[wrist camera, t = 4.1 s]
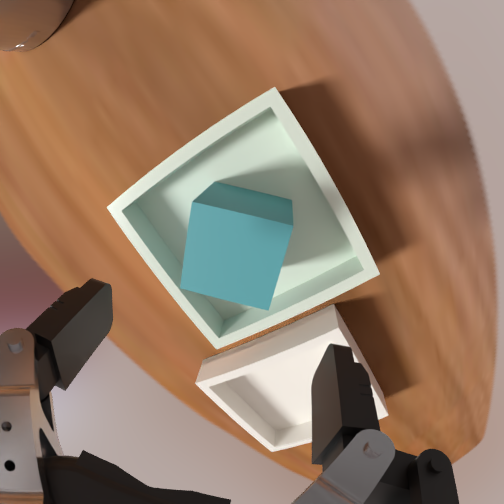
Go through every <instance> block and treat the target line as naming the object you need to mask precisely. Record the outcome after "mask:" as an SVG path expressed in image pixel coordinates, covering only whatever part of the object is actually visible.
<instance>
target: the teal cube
mask: <svg viewBox="0 0 504 504" xmlns="http://www.w3.org/2000/svg"><path fill="white" fill-rule="evenodd" d="M292 230H293V208H292V200H290V199H286V198H282V197H278V196H274V195H270V194H266V193H262V192H258V191H254V190H249V189H245V188H241V187H237V186H232V185H228V184H223V183H219V182H214V183H212V184H211V185H210V186H209V187H208V188H207V189H206V190H204V191H203V192H202V193H201V194H200V195H199V196H198V197H197V198H195V199H194V200H193V201H192V205H191V211H190V218H189V224H188V231H187V238H186V245H185V253H184V260H183V268H182V276H181V285H180V288H181V289H185V290H188V291H192V292H196V293H199V294H203V295H207V296H211V297H215V298H219V299H223V300H227V301H231V302H235V303H239V304H243V305H247V306H251V307H255V308H259V309H264V310H268V311H269V308H270V304H271V301H272V298H273V295H274V291H275V288H276V285H277V281H278V278H279V274H280V271H281V268H282V264H283V261H284V257H285V254H286V250H287V247H288V244H289V240H290V237H291V233H292Z"/></svg>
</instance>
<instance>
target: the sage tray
mask: <svg viewBox="0 0 504 504" xmlns="http://www.w3.org/2000/svg"><path fill="white" fill-rule="evenodd" d="M214 182H219V183H223V184H228V185H232V186H237V187H241V188H245V189H249V190H254V191H258V192H262V193H266V194H270V195H274V196H278V197H282V198H286V199H290V200H292V208H293V230H292V233H291V237H290V240H289V244H288V247H287V250H286V254H285V257H284V261H283V264H282V268H281V271H280V274H279V278H278V281H277V285H276V288H275V291H274V295H273V298H272V301H271V304H270V308H269V311H268V310H264V309H259V308H255V307H251V306H247V305H243V304H239V303H235V302H231V301H227V300H223V299H219V298H215V297H211V296H207V295H203V294H199V293H196V292H192V291H188V290H185V289H181V288H180V285H181V276H182V268H183V260H184V253H185V245H186V238H187V231H188V224H189V218H190V211H191V205H192V201H193V200H194V199H195V198H197V197H198V196H199V195H200V194H201V193H202V192H203V191H204V190H206V189H207V188H208V187H209V186H210V185H211V184H212V183H214ZM107 209H108V210H109V212H110V213H111V214H112V216H113V217H114V219H115V220H116V222H117V223H118V225H119V226H120V227H121V229H122V230H123V232H124V233H125V234H126V236H127V237H128V239H129V240H130V241H131V243H132V244H133V246H134V247H135V248H136V250H137V251H138V252H139V254H140V255H141V256H142V258H143V259H144V261H145V262H146V263H147V265H148V266H149V267H150V268H151V270H152V271H153V272H154V274H155V275H156V276H157V278H158V279H159V280H160V282H161V283H162V284H163V285H164V287H165V288H166V289H167V290H168V292H169V293H170V294H171V296H172V297H173V298H174V299H175V301H176V302H177V303H178V304H179V305H180V307H181V308H182V309H183V310H184V312H185V313H186V314H187V315H188V316H189V318H190V319H191V320H192V321H193V323H194V324H195V325H196V326H197V327H198V328H199V330H200V331H201V332H202V333H203V334H204V336H205V337H206V338H207V339H208V340H209V341H210V343H211V344H212V345H213V346H214V347H215V348H216V349H219V348H221V347H224V346H226V345H229V344H231V343H234V342H236V341H239V340H241V339H243V338H246V337H248V336H250V335H253V334H255V333H257V332H260V331H262V330H264V329H267V328H269V327H271V326H273V325H276V324H278V323H280V322H282V321H285V320H287V319H289V318H291V317H294V316H296V315H298V314H300V313H302V312H304V311H307V310H309V309H311V308H313V307H315V306H317V305H319V304H321V303H323V302H326V301H328V300H330V299H332V298H334V297H336V296H338V295H340V294H342V293H344V292H346V291H348V290H350V289H352V288H354V287H356V286H358V285H360V284H362V283H364V282H366V281H368V280H370V279H372V278H373V277H375V276H377V275H379V274H380V273H379V271H378V269H377V267H376V264H375V262H374V260H373V258H372V256H371V254H370V252H369V250H368V247H367V245H366V243H365V241H364V239H363V237H362V235H361V233H360V231H359V229H358V227H357V225H356V223H355V221H354V219H353V217H352V215H351V214H350V212H349V210H348V208H347V206H346V204H345V202H344V200H343V198H342V197H341V195H340V193H339V191H338V189H337V187H336V186H335V184H334V182H333V180H332V178H331V177H330V175H329V173H328V171H327V170H326V168H325V166H324V164H323V163H322V161H321V159H320V157H319V156H318V154H317V152H316V151H315V149H314V147H313V146H312V144H311V142H310V141H309V139H308V137H307V136H306V134H305V132H304V131H303V129H302V128H301V126H300V124H299V123H298V121H297V120H296V118H295V117H294V115H293V113H292V112H291V110H290V109H289V107H288V106H287V104H286V103H285V101H284V100H283V98H282V97H281V95H280V94H279V92H278V91H277V89H276V88H275V87H274V88H272V89H271V90H269V91H267V92H265V93H264V94H262V95H260V96H259V97H257V98H255V99H254V100H252V101H251V102H249V103H247V104H246V105H244V106H242V107H241V108H239V109H238V110H236V111H235V112H233V113H231V114H230V115H228V116H227V117H225V118H224V119H222V120H221V121H219V122H218V123H216V124H215V125H213V126H212V127H210V128H209V129H207V130H206V131H204V132H203V133H202V134H200V135H199V136H197V137H196V138H194V139H193V140H192V141H190V142H189V143H187V144H186V145H185V146H183V147H182V148H181V149H179V150H178V151H176V152H175V153H174V154H172V155H171V156H170V157H168V158H167V159H166V160H164V161H163V162H162V163H160V164H159V165H158V166H157V167H155V168H154V169H153V170H151V171H150V172H149V173H148V174H146V175H145V176H144V177H143V178H141V179H140V180H139V181H138V182H136V183H135V184H134V185H133V186H131V187H130V188H129V189H128V190H127V191H125V192H124V193H123V194H122V195H121V196H119V197H118V198H117V199H116V200H115V201H114V202H112V203H111V204H110V205H109V206H108V207H107Z"/></svg>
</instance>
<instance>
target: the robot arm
mask: <svg viewBox="0 0 504 504" xmlns="http://www.w3.org/2000/svg"><path fill="white" fill-rule="evenodd" d="M72 3H73V0H0V50H3V51H20V52H22V51H28V50H31V49H33V48H35V47H37V46H38V45H40V44H41V43H43V42H44V41H45V40H46V39H47V38H48V37H50V35H51V34H52V33H53V32H54V31H55V30H56V29H57V28H58V26H59V25H60V23H61V22H62V21H63V19H64V18H65V16H66V14H67V13H68V11H69V9H70V7H71V5H72ZM112 321H113V310H112V288H111V285H110V284H108V283H105V282H102V281H99V280H96V279H93V278H92V279H90V280H88V281H87V282H86V283H85V284H84V285H83V286H82V287H81V288H79V287H76V288H74V289H71V290H69V291H67V292H65V293H64V294H63V295H62V296H61V297H60V298H58V299H57V302H56V301H55V302H54V303H53V304H52V305H51V306H50V308H48V309H46V311H44V312H43V313H42V314H41V315H40V316H39V317H38V318H37V319H36V320H35V321H34V322H33V323H32V324H31V325H30V326H29V327H27V329H22V328H14V329H10V330H7V331H5V332H4V333H3V334H1V335H0V504H230V502H231V500H229V499H224V498H220V497H215V496H211V495H206V494H202V493H199V492H194V491H185V490H171V489H160V488H153V487H149V486H147V485H145V484H144V483H142V482H140V481H139V480H137V479H136V478H134V477H133V476H131V475H130V474H128V473H126V472H125V471H124V470H122V469H121V468H119V467H118V466H116V465H114V464H112V463H110V462H108V461H105V460H103V459H101V458H99V457H96V456H94V455H92V454H90V453H88V452H86V451H84V450H83V451H82V453H81V455H80V456H79V457H73V456H64V454H63V451H62V448H61V445H60V442H59V439H58V435H57V429H56V422H55V415H54V409H53V399H52V393H51V390H52V389H53V387H54V386H57V387H59V388H61V389H63V390H66V389H67V388H68V386H69V385H70V384H71V382H72V381H73V379H74V378H75V377H76V375H77V374H78V373H79V371H80V370H81V368H82V367H83V366H84V364H85V363H86V361H87V360H88V359H89V357H90V356H91V355H92V353H93V352H94V351H95V350H96V348H97V347H98V345H99V344H100V343H101V342H102V340H103V339H104V338H105V337H106V335H107V334H108V333H109V331H110V329H111V326H112ZM311 404H312V464H319V465H323V472H322V473H321V474H320V475H319V477H318V478H317V479H316V480H315V481H314V482H313V483H312V484H311V485H310V486H309V487H308V488H307V489H306V490H305V491H304V492H303V493H302V494H301V495H300V496H299V497H298V498H297V499H295V500H294V501H293V502H292V503H291V504H459V500H458V494H457V489H456V484H455V479H454V474H453V469H452V465H451V462H450V460H449V458H448V457H447V456H446V455H445V454H444V453H443V452H441V451H439V450H436V449H428V450H425V451H423V452H422V453H421V454H420V455H419V456H418V457H417V456H414V455H411V454H408V453H404V452H401V451H398V450H396V449H395V447H394V444H393V442H392V441H391V439H390V438H389V437H388V436H387V435H386V434H384V433H382V432H381V431H380V426H379V421H378V416H377V411H376V406H375V401H374V397H373V392H372V388H371V383H370V378H369V374H368V372H367V371H366V370H365V368H364V367H363V365H362V364H361V363H357V362H354V357H353V352H352V349H351V347H348V346H343V345H337V344H332V343H330V344H329V345H328V347H327V349H326V351H325V353H324V355H323V357H322V359H321V361H320V363H319V365H318V367H317V369H316V371H315V374H314V376H313V380H312V385H311Z"/></svg>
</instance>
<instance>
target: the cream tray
mask: <svg viewBox="0 0 504 504" xmlns="http://www.w3.org/2000/svg"><path fill="white" fill-rule="evenodd" d="M330 343H332V344H337V345H343V346H348V347H351V349H352V352H353V357H354V362H357V363H361V364H362V365H363V367H364V368H365V370H366V371H367V372H368V374H369V378H370V383H371V388H372V392H373V397H374V401H375V406H376V411H377V416H378V420H379V419H381V418H384V417H386V416H389V415H388V411H387V407H386V403H385V399H384V395H383V392H382V390H381V388H380V386H379V384H378V382H377V381H376V379H375V377H374V375H373V373H372V371H371V369H370V368H369V366H368V364H367V362H366V360H365V358H364V357H363V355H362V353H361V351H360V349H359V347H358V346H357V344H356V342H355V340H354V338H353V337H352V335H351V333H350V331H349V330H348V328H347V326H346V324H345V322H344V321H343V319H342V317H341V315H340V314H339V312H338V310H337V308H336V307H335V305H334V304H332V305H330V306H328V307H326V308H324V309H322V310H320V311H317V312H315V313H313V314H311V315H309V316H307V317H304V318H302V319H300V320H298V321H296V322H293V323H291V324H289V325H287V326H284V327H282V328H280V329H278V330H275V331H273V332H271V333H268V334H266V335H264V336H261V337H259V338H257V339H254V340H252V341H249V342H247V343H244V344H242V345H240V346H237V347H235V348H232V349H230V350H227V351H225V352H222V353H219V354H217V355H214V356H212V357H209V358H207V359H204V360H203V362H202V365H201V368H200V371H199V374H198V377H197V380H196V383H195V384H196V385H197V386H198V387H199V388H200V389H202V390H203V391H204V392H205V393H206V394H207V395H208V396H209V397H210V398H211V399H212V400H213V401H214V402H215V403H216V404H217V405H218V406H219V407H220V408H221V409H223V410H224V411H225V412H226V413H227V414H228V415H229V416H230V417H231V418H232V419H234V420H235V421H236V422H237V423H238V424H239V425H240V426H242V427H243V428H244V429H245V430H246V431H247V432H248V433H250V434H251V435H252V436H253V437H254V438H256V439H257V440H258V441H259V442H260V443H262V444H263V445H264V446H265V447H266V448H268V449H269V450H270V451H271V452H273V451H278V450H282V449H286V448H290V447H294V446H298V445H302V444H306V443H310V442H312V404H311V385H312V380H313V376H314V374H315V371H316V369H317V367H318V365H319V363H320V361H321V359H322V357H323V355H324V353H325V351H326V349H327V347H328V345H329V344H330Z"/></svg>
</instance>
